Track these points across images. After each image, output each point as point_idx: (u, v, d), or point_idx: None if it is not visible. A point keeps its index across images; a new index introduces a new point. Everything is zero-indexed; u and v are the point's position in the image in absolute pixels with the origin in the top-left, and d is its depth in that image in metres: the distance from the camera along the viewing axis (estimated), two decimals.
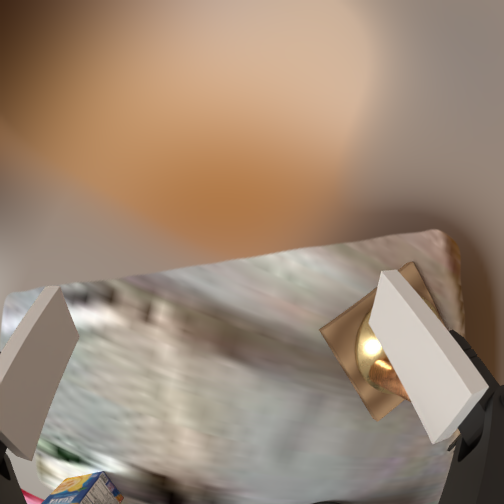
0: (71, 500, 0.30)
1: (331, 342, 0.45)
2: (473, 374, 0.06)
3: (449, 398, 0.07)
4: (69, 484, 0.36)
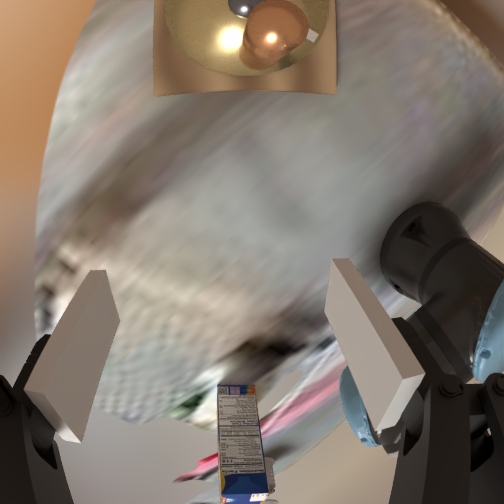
0: (218, 440, 0.44)
1: (175, 91, 0.29)
2: (409, 359, 0.07)
3: (385, 383, 0.08)
4: None
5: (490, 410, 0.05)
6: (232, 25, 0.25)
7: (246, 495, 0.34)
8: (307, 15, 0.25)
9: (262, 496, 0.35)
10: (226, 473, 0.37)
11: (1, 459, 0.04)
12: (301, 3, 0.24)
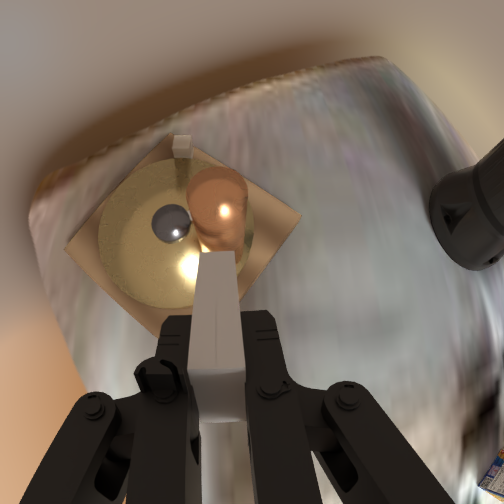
0: None
1: None
2: (234, 351, 0.08)
3: None
4: None
5: (338, 431, 0.06)
6: (182, 252, 0.31)
7: None
8: None
9: None
10: None
11: (147, 452, 0.05)
12: None
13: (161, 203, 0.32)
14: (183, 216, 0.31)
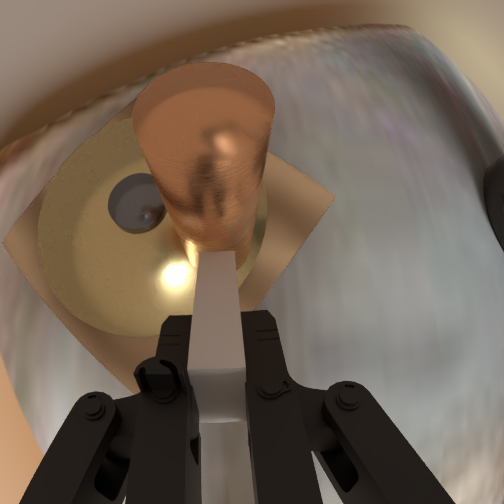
0: None
1: None
2: (234, 351, 0.08)
3: None
4: None
5: (338, 431, 0.06)
6: (154, 247, 0.19)
7: None
8: None
9: None
10: None
11: (146, 452, 0.05)
12: None
13: (126, 174, 0.20)
14: (156, 191, 0.19)
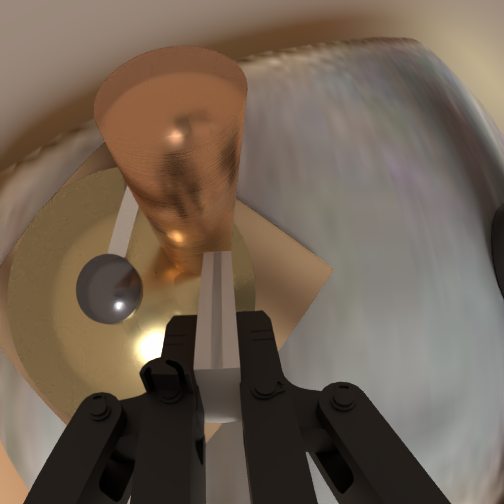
0: None
1: None
2: (229, 351, 0.08)
3: None
4: None
5: (333, 433, 0.06)
6: (162, 300, 0.17)
7: None
8: (106, 196, 0.19)
9: None
10: None
11: (152, 452, 0.05)
12: (88, 212, 0.18)
13: (70, 286, 0.17)
14: (111, 263, 0.16)
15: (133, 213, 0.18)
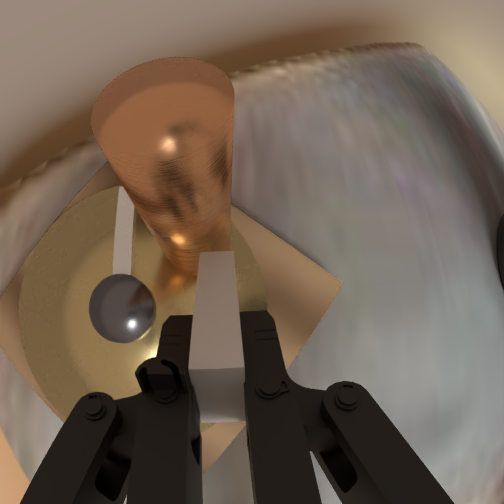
0: None
1: None
2: (233, 351, 0.08)
3: None
4: None
5: (337, 432, 0.06)
6: (175, 307, 0.17)
7: None
8: (98, 220, 0.19)
9: None
10: None
11: (147, 452, 0.05)
12: (84, 239, 0.18)
13: (82, 314, 0.17)
14: (119, 283, 0.17)
15: (129, 230, 0.18)
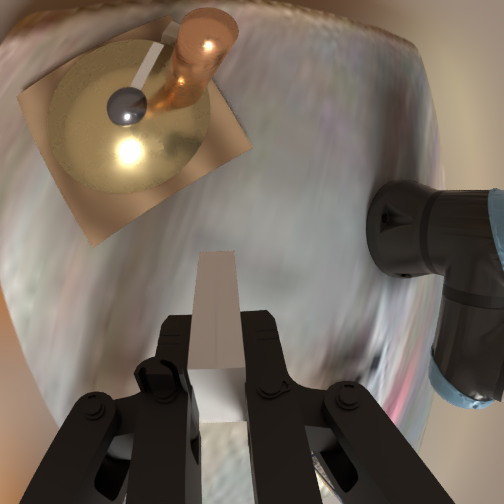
0: None
1: (110, 232, 0.29)
2: (234, 351, 0.08)
3: None
4: (327, 486, 0.43)
5: (338, 431, 0.06)
6: (156, 117, 0.27)
7: None
8: (132, 55, 0.25)
9: None
10: None
11: (147, 452, 0.05)
12: (118, 62, 0.25)
13: (99, 103, 0.25)
14: (132, 92, 0.25)
15: (149, 67, 0.26)
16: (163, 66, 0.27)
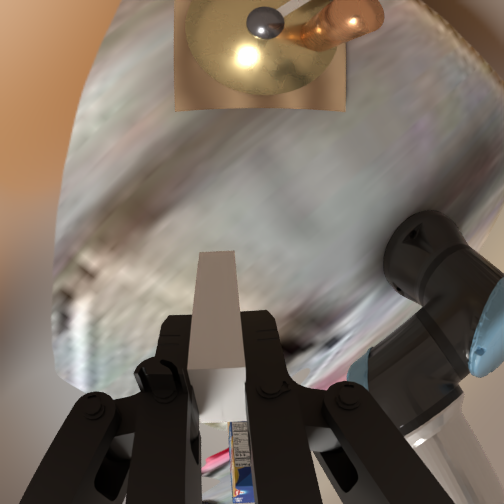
0: None
1: (196, 108, 0.32)
2: (234, 351, 0.08)
3: None
4: None
5: (338, 431, 0.06)
6: (284, 44, 0.28)
7: None
8: None
9: None
10: (240, 466, 0.39)
11: (147, 452, 0.05)
12: None
13: (244, 8, 0.25)
14: (276, 15, 0.25)
15: (300, 4, 0.25)
16: (312, 9, 0.26)
